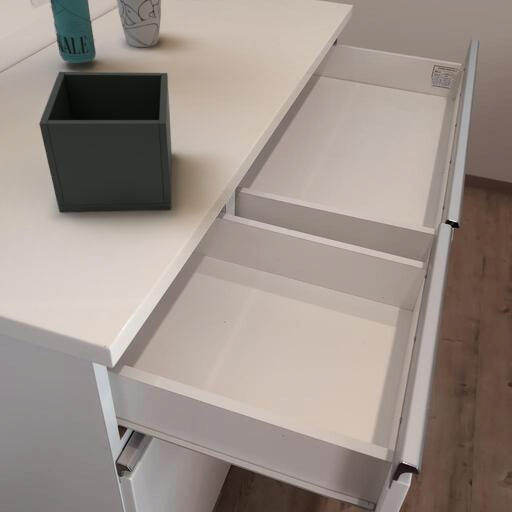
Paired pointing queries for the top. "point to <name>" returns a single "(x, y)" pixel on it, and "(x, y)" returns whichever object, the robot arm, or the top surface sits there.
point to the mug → (140, 21)
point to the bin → (109, 141)
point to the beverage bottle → (73, 30)
